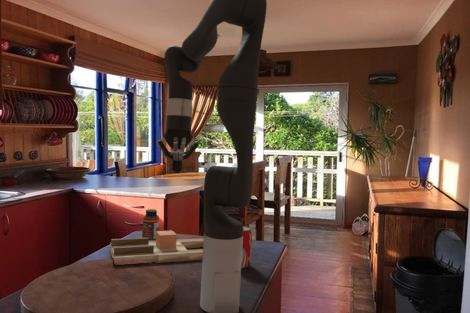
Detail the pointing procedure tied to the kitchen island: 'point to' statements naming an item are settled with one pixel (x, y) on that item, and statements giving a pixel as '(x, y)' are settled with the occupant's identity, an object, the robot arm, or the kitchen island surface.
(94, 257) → the kitchen island surface
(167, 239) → the block
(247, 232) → the soda can
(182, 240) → the wooden fixture board
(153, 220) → the supplement bottle
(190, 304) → the kitchen island surface
